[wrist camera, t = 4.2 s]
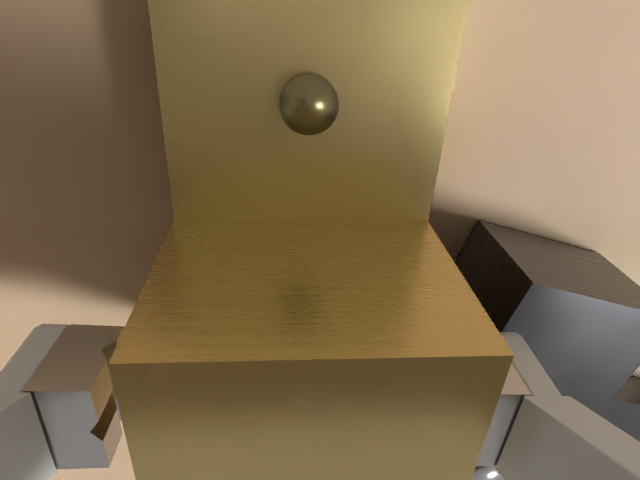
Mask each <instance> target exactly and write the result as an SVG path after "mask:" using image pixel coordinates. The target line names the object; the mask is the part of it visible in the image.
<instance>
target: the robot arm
mask: <svg viewBox="0 0 640 480" xmlns="http://www.w3.org/2000/svg"><path fill="white" fill-rule="evenodd" d="M124 328H125V326H100V325H75V324H71V325H64V324H41V325H39V326H37V327H35V328H34V329H33V331H32V332H31V333H30V334H29V336H28V337H27V338H26V340H25V341H24V342H23V344H22V345H21V346H20V347H19V349H18V350H17V351H16V353H15V354H14V355H13V356H12V358H11V359H10V360H9V362H8V363H7V364H6V366H5V367H4V368H3V369H2V371H1V372H0V480H49V479H50V478H51V477H52V476H54V475H55V474H56V473H57V470H56V469H80V468H109V467H110V464H111V461H112V459H113V456H114V454H115V451H116V449H117V446H118V443H119V441H120V438H121V436H122V430H121V425H120V421H121V420H122V419H121V414H120V410H119V406H118V402H117V398H116V393H115V389H114V385H113V381H112V376H111V372H110V368H109V362H110V359H111V357H112V355H113V353H114V350H115V348H116V346H117V344H118V342H119V339H120V337H121V335H122V333H123V330H124ZM499 333H500V334H501V336H502V337H503V339H504V340H505V342H506V344H507V345H508V347H509V348H510V350H511V351H512V353H513V355H514V357H513V360H512V363H511V366H510V369H509V372H508V375H507V377H506V380H505V383H504V386H503V389H502V392H501V395H500V398H499V401H498V403H497V406H496V409H495V412H494V415H493V418H492V421H491V424H490V427H489V430H488V432H487V435H486V438H485V441H484V444H483V447H482V450H481V453H480V456H479V458H478V461H477V464H476V466H489V467H496V468H495V469H496V470H497V472H498V473H499V474H500V475H501V476H502V477H503V478H504V479H505V480H640V442H639V441H638V440H636V439H635V438H633V437H632V436H630V435H629V434H627V433H625V432H624V431H622V430H621V429H619V428H618V427H616V426H615V425H613V424H612V423H610V422H609V421H607V420H606V419H604V418H603V417H601V416H599V415H598V414H596V413H595V412H593V411H592V410H590V409H589V408H587V407H586V406H584V405H583V404H581V403H580V402H578V401H576V400H575V399H573V398H572V397H570V396H562V395H561V394H560V392H559V391H558V389H557V388H556V386H555V385H554V383H553V382H552V380H551V379H550V377H549V376H548V375H547V373H546V372H545V370H544V369H543V367H542V366H541V364H540V363H539V361H538V360H537V358H536V357H535V355H534V354H533V352H532V351H531V349H530V348H529V346H528V345H527V343H526V342H525V340H524V339H523V337H522V336H521V335H519V334H518V333H516V332H499Z"/></svg>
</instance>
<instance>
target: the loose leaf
mask: <svg viewBox="0 0 640 480" xmlns="http://www.w3.org/2000/svg"><path fill="white" fill-rule="evenodd" d="M147 1H148V10H149V18H150V26H151V35H152V43H153V52H154V60H155V69H156V77H157V86H158V94H159V103H160V111H161V120H162V128H163V137H164V145H165V153H166V162H167V170H168V179H169V187H170V196H171V204H172V213H173V221H172V223H171V226H170V228H169V230H168V232H167V234H166V237H165V239H164V241H163V243H162V246H161V248H160V250H159V252H158V255H157V257H156V259H155V261H154V263H153V266H152V268H151V270H150V272H149V275H148V277H147V279H146V281H145V284H144V286H143V288H142V290H141V292H140V295H139V297H138V299H137V301H136V304H135V306H134V308H133V310H132V313H131V315H130V317H129V319H128V321H127V324H126V326H125V328H124V330H123V333H122V335H121V337H120V339H119V342H118V344H117V346H116V348H115V350H114V353H113V355H112V357H111V359H110V362H109V368H110V372H111V376H112V381H113V385H114V389H115V393H116V398H117V402H118V406H119V410H120V414H121V419H122V423H123V427H124V431H125V436H126V440H127V444H128V448H129V453H130V457H131V461H132V465H133V469H134V474H135V478H136V480H471V479H472V476H473V473H474V470H475V467H476V464H477V461H478V458H479V456H480V453H481V450H482V447H483V444H484V441H485V438H486V435H487V432H488V430H489V427H490V424H491V421H492V418H493V415H494V412H495V409H496V406H497V403H498V401H499V398H500V395H501V392H502V389H503V386H504V383H505V380H506V377H507V375H508V372H509V369H510V366H511V363H512V360H513V357H514V355H513V353H512V351H511V350H510V348H509V347H508V345H507V344H506V342H505V340H504V339H503V337H502V336H501V334H500V333H499V331H498V330H497V328H496V326H495V325H494V323H493V322H492V320H491V319H490V317H489V316H488V314H487V312H486V311H485V309H484V308H483V306H482V305H481V303H480V302H479V300H478V298H477V297H476V295H475V294H474V292H473V291H472V289H471V288H470V286H469V284H468V283H467V281H466V280H465V278H464V277H463V275H462V274H461V272H460V270H459V269H458V267H457V266H456V264H455V263H454V261H453V259H452V258H451V256H450V255H449V253H448V252H447V250H446V249H445V247H444V245H443V244H442V242H441V241H440V239H439V238H438V236H437V235H436V233H435V231H434V230H433V228H432V227H431V225H430V224H429V222H428V220H429V215H430V209H431V204H432V199H433V193H434V188H435V183H436V177H437V172H438V167H439V161H440V156H441V151H442V145H443V140H444V135H445V129H446V124H447V119H448V113H449V108H450V103H451V97H452V92H453V87H454V81H455V76H456V71H457V65H458V60H459V54H460V49H461V44H462V38H463V33H464V28H465V22H466V17H467V12H468V6H469V1H470V0H147Z"/></svg>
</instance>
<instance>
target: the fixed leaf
mask: <svg viewBox="0 0 640 480" xmlns="http://www.w3.org/2000/svg"><path fill="white" fill-rule="evenodd" d="M455 264H456V266H457V267H458V269H459V270H460V272H461V274H462V275H463V277H464V278H465V280H466V281H467V283H468V284H469V286H470V288H471V289H472V291H473V292H474V294H475V295H476V297H477V298H478V300H479V302H480V303H481V305H482V306H483V308H484V309H485V311H486V312H487V314H488V316H489V317H490V319H491V320H492V322H493V323H494V325H495V326H496V328H497V330H498V331H499V332H516V333H518V334H519V335H521V336H522V337H523V339H524V340H525V342H526V343H527V345H528V346H529V348H530V349H531V351H532V352H533V354H534V355H535V357H536V358H537V360H538V361H539V363H540V364H541V366H542V367H543V369H544V370H545V372H546V373H547V375H548V376H549V377H550V379H551V380H552V382H553V383H554V385H555V386H556V388H557V389H558V391H559V392H560V394H561V395H562V396H570V397H572V398H573V399H575V400H576V401H578V402H580V403H581V404H583V405H584V406H586V407H587V408H589V409H590V410H592V411H593V412H595V413H596V414H598V415H599V416H601V417H603V418H604V419H606V420H607V421H609V422H610V423H612V424H613V425H615V426H616V427H618V428H619V429H621V430H622V431H624V432H625V433H627V434H629V435H630V436H632V437H633V438H635V439H636V440H638V441H639V442H640V378H637V377H632V376H631V375H632V374H633V373H634V371H635V370H636V369H637V368H638V367H639V366H640V286H638V285H637V284H636V283H635V282H634V281H632V280H631V279H630V278H629V277H627V276H626V275H625V274H624V273H623V272H621V271H620V270H619V269H618V268H617V267H615V266H614V265H613V264H612V263H610V262H609V261H608V260H607V259H606V258H604V257H603V256H602V255H601V254H600V253H596V252H593V251H589V250H586V249H582V248H579V247H575V246H571V245H568V244H564V243H561V242H557V241H553V240H550V239H546V238H543V237H539V236H535V235H532V234H528V233H525V232H521V231H518V230H514V229H510V228H507V227H503V226H500V225H496V224H492V223H489V222H485V221H482V220H478V221H477V223H476V225H475V227H474V229H473V231H472V232H471V234H470V236H469V238H468V240H467V242H466V244H465V245H464V247H463V249H462V251H461V253H460V255H459V257H458V258H457V260H456V262H455ZM495 468H496V467H489V466H476V467H475V470H474V473H473V476H472V479H471V480H505V479H504V478H503V477H502V476H501V475H500V474H499V473H498V472H497V470H496V469H495Z"/></svg>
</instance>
